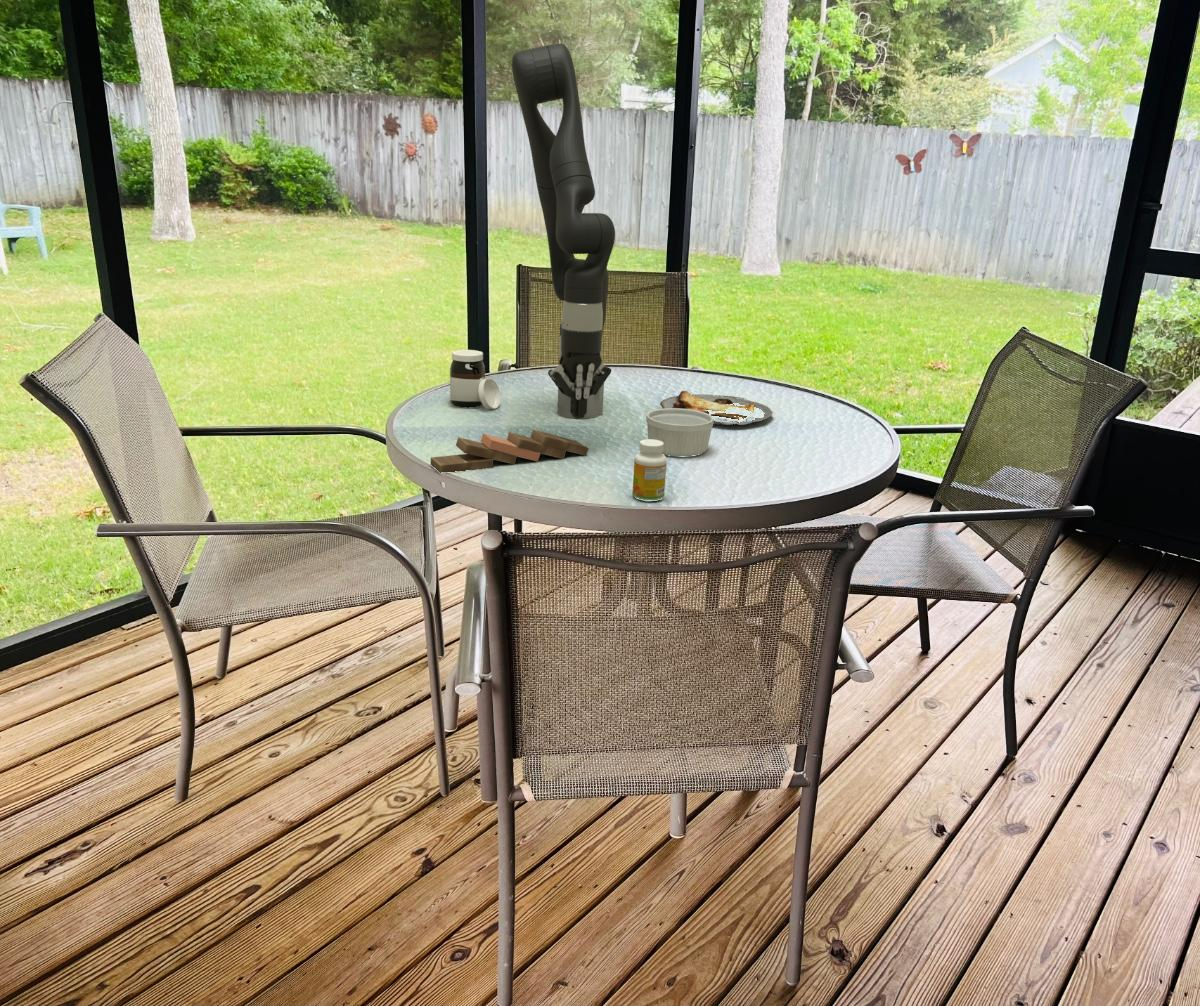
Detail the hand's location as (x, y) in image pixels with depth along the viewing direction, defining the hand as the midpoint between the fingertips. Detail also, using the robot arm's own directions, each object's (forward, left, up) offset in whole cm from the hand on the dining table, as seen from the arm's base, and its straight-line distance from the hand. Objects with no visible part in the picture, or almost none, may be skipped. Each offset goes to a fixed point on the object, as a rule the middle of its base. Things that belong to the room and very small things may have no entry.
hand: (578, 417), depth 180 cm
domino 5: (-1, 0, -6) cm, 6 cm away
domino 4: (+4, 0, -6) cm, 8 cm away
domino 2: (+14, 0, -6) cm, 15 cm away
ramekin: (-19, +6, -7) cm, 22 cm away
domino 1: (+19, 0, -6) cm, 20 cm away
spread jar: (+4, -40, -7) cm, 41 cm away
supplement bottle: (+2, +27, -7) cm, 28 cm away
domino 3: (+9, 0, -6) cm, 11 cm away
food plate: (-43, -13, -8) cm, 46 cm away
